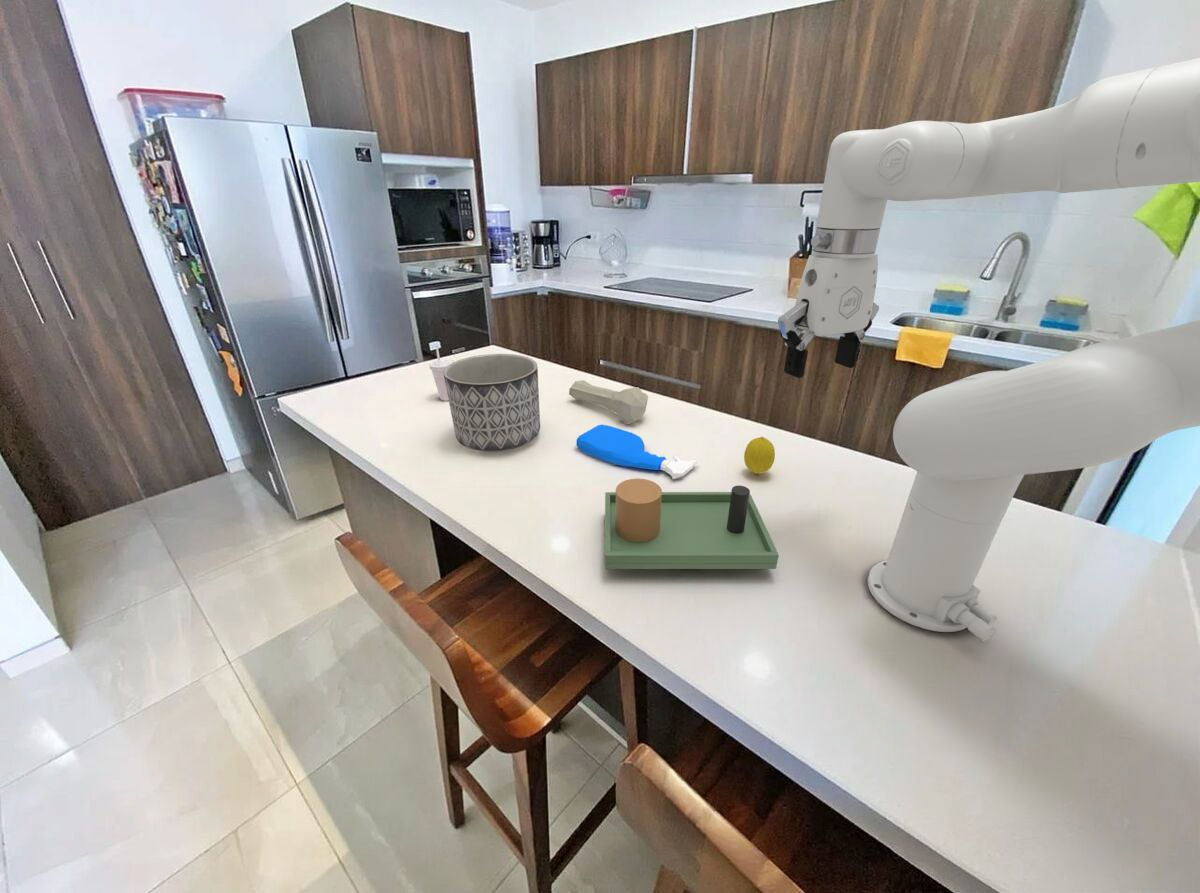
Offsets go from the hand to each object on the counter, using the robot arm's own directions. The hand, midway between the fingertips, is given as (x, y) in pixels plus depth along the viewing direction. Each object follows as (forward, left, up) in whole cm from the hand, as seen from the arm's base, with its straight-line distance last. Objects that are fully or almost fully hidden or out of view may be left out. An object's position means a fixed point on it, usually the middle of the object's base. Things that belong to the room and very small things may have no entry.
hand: (819, 370), depth 72 cm
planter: (+48, +40, -26) cm, 68 cm away
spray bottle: (+28, +16, -26) cm, 42 cm away
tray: (0, +21, -24) cm, 31 cm away
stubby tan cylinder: (+3, +27, -23) cm, 36 cm away
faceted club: (+53, +12, -26) cm, 61 cm away
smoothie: (+77, +48, -26) cm, 95 cm away
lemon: (+13, -3, -26) cm, 30 cm away
